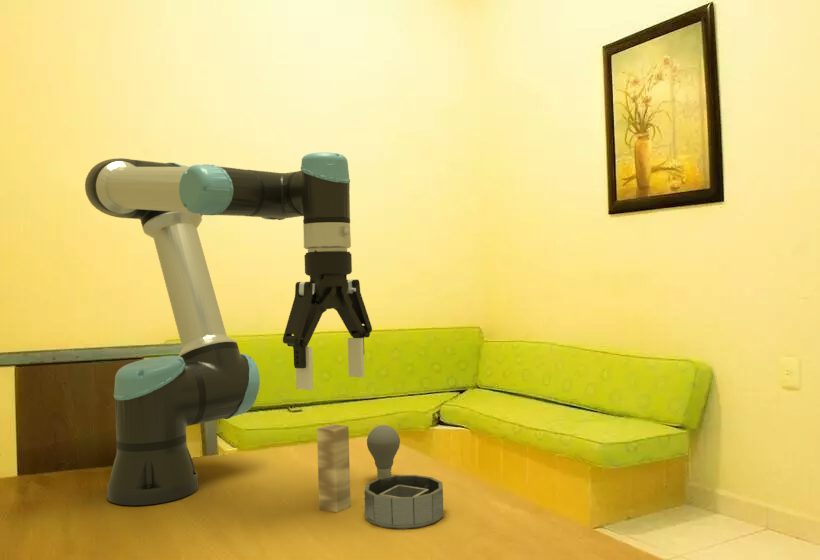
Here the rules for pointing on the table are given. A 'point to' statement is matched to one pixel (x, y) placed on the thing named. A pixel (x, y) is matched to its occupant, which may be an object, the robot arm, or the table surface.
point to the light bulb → (383, 448)
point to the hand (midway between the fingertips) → (332, 382)
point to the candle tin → (404, 501)
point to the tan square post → (333, 467)
